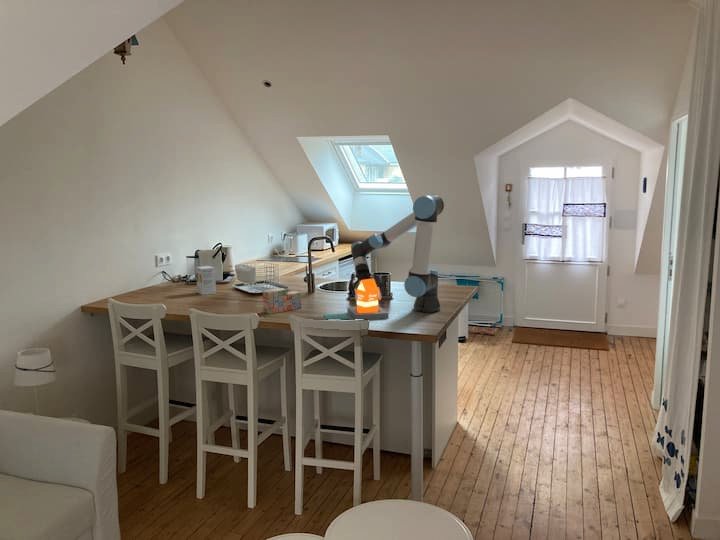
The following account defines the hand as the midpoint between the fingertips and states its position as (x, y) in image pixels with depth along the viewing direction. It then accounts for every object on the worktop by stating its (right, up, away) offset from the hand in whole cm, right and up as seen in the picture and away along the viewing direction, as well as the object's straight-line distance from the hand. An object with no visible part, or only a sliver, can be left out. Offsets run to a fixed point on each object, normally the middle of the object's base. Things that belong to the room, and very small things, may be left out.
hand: (368, 299), depth 317 cm
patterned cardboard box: (-48, -7, +17) cm, 52 cm away
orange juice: (-1, -9, +4) cm, 10 cm away
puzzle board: (-1, -9, +4) cm, 10 cm away
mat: (-17, -10, 0) cm, 20 cm away
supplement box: (-103, +1, +64) cm, 121 cm away
